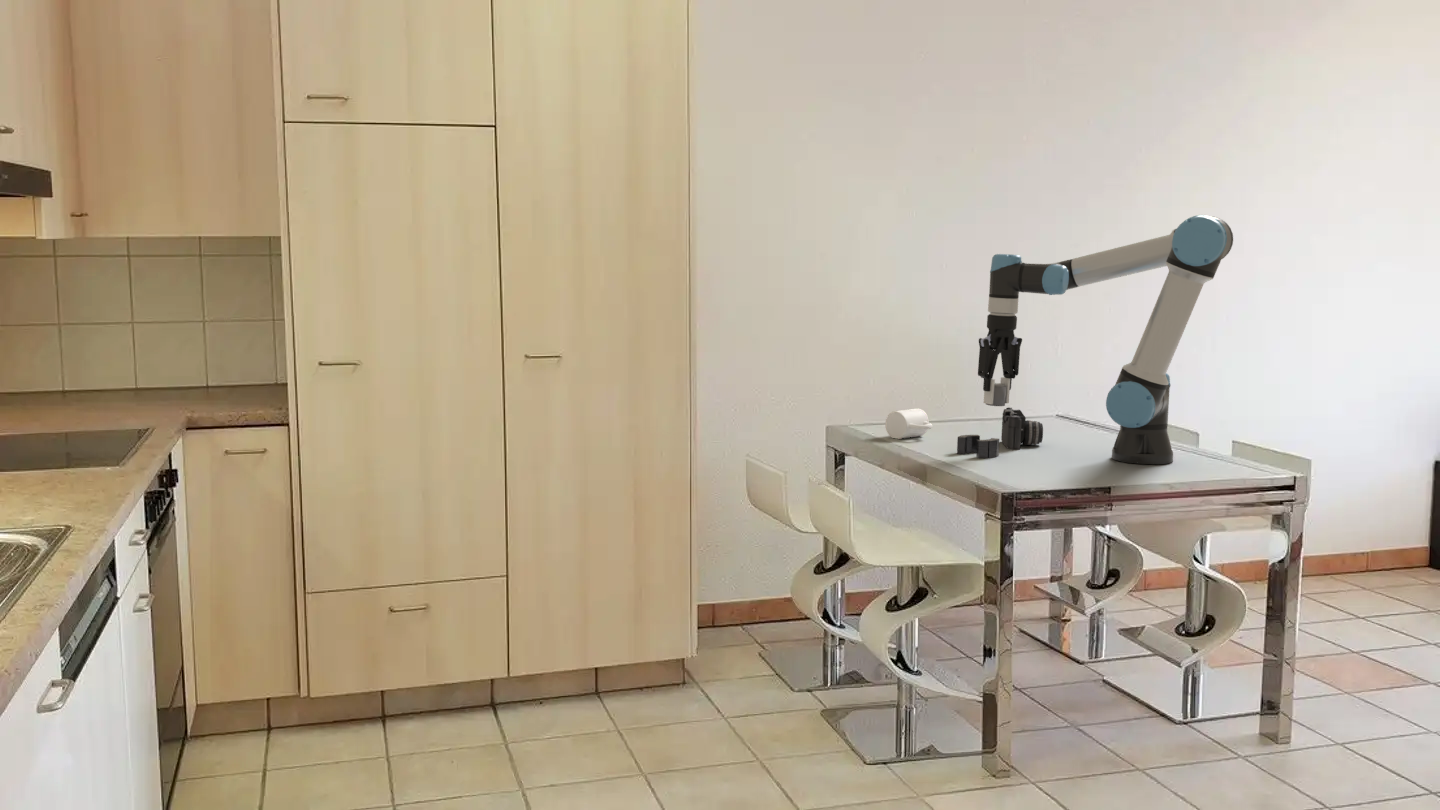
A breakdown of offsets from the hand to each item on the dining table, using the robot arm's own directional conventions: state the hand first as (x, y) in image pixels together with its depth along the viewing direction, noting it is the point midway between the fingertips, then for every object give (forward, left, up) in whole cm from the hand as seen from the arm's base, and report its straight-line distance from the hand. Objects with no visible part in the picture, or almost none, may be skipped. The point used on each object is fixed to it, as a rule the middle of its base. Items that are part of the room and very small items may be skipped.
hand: (996, 402), depth 346 cm
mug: (+33, -1, -14) cm, 36 cm away
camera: (+8, -18, -14) cm, 24 cm away
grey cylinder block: (0, 0, 0) cm, 1 cm away
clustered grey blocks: (+3, +3, -14) cm, 15 cm away
